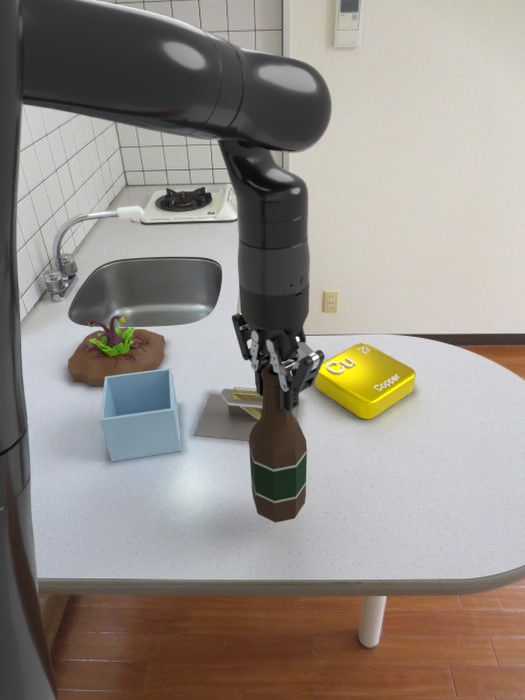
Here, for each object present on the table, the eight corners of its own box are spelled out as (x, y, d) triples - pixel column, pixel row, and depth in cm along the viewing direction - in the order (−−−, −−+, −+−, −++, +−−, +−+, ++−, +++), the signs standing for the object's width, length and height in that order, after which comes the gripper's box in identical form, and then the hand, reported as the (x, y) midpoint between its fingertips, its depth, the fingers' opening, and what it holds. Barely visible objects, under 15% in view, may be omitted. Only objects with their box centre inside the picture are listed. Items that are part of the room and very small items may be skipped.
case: (180, 451, 92) (173, 410, 87) (111, 461, 91) (99, 420, 85) (177, 407, 102) (171, 367, 97) (115, 416, 101) (104, 376, 95)
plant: (146, 391, 107) (137, 345, 100) (57, 384, 109) (42, 339, 103) (175, 337, 123) (168, 295, 116) (96, 332, 126) (86, 291, 119)
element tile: (366, 423, 97) (368, 403, 94) (310, 385, 106) (310, 366, 104) (417, 389, 104) (420, 369, 101) (360, 356, 114) (362, 338, 111)
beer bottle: (303, 527, 72) (305, 392, 59) (247, 521, 74) (237, 386, 60) (308, 484, 79) (311, 352, 65) (256, 479, 80) (249, 348, 66)
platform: (291, 445, 93) (291, 417, 89) (193, 435, 96) (189, 408, 92) (299, 401, 102) (299, 374, 99) (210, 393, 105) (207, 367, 101)
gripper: (206, 265, 58) (218, 387, 68) (293, 313, 49) (293, 445, 59) (258, 246, 62) (263, 364, 72) (348, 287, 53) (339, 415, 63)
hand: (276, 400), depth 65 cm, fingers closed on beer bottle, 4 cm apart
